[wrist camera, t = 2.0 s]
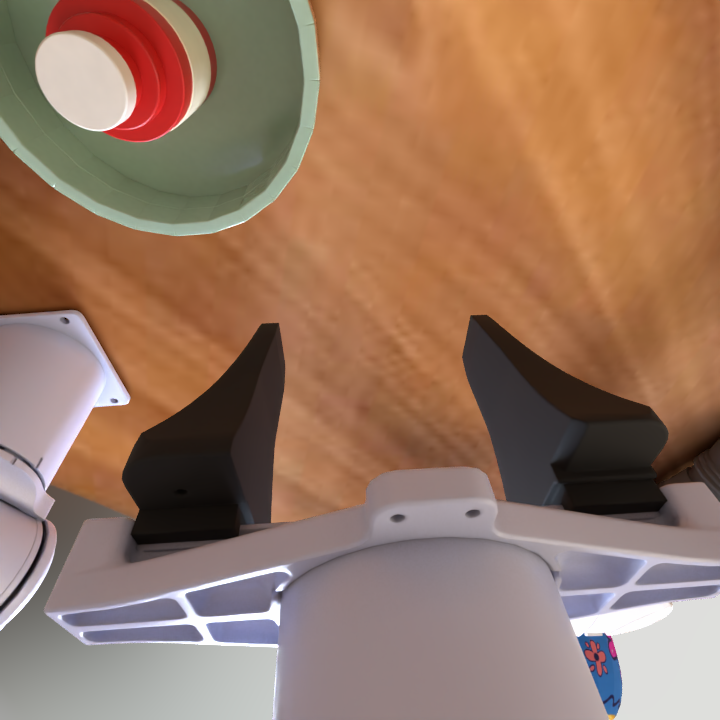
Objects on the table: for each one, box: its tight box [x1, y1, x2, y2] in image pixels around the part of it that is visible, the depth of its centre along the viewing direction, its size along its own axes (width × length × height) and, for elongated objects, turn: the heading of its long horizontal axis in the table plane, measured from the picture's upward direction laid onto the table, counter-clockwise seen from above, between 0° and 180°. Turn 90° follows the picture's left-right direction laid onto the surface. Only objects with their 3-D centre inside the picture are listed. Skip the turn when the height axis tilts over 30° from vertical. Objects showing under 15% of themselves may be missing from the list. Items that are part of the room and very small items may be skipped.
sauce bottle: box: [35, 0, 217, 142], centre depth 15 cm, size 4×4×8 cm
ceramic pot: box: [576, 633, 622, 720], centre depth 52 cm, size 18×18×15 cm
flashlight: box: [657, 438, 720, 502], centre depth 40 cm, size 15×5×5 cm, turn 155°
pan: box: [0, 0, 320, 236], centre depth 17 cm, size 13×13×4 cm
